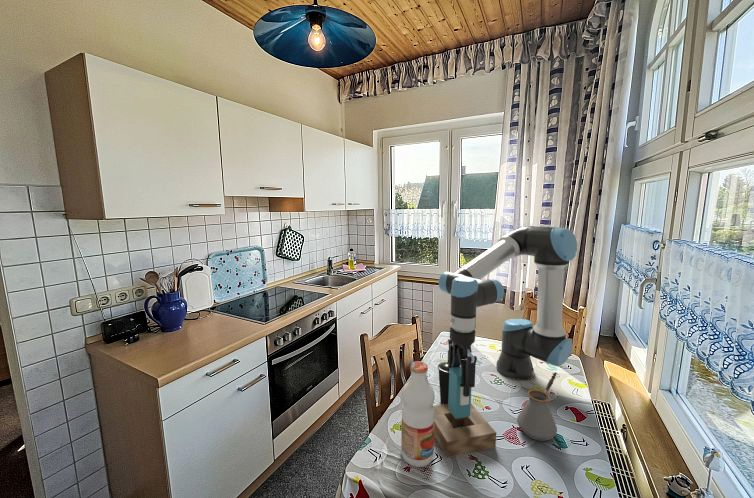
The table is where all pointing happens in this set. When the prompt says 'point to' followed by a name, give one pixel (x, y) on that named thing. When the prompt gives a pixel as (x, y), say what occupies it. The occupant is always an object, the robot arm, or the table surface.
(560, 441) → the table surface
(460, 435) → the socket block
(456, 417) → the peg
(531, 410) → the coffee pot
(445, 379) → the drinking cup
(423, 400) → the fruit juice
